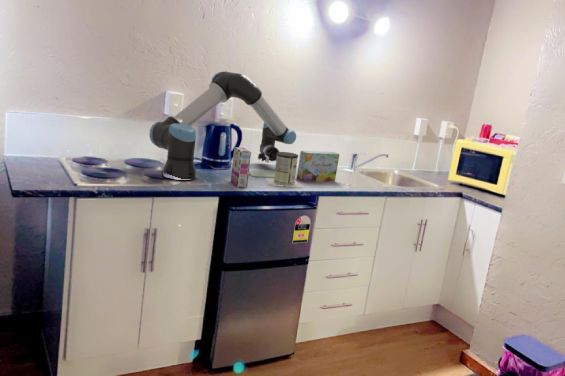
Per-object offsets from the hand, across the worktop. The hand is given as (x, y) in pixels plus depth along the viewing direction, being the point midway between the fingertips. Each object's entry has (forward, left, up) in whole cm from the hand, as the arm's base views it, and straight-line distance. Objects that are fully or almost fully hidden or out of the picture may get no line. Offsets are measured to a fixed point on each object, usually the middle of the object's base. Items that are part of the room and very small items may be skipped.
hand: (281, 161), depth 245 cm
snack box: (+20, 0, -9) cm, 22 cm away
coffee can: (0, -10, -9) cm, 13 cm away
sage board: (-6, +7, -9) cm, 13 cm away
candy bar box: (-24, -20, -9) cm, 33 cm away
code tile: (0, -10, -9) cm, 13 cm away
